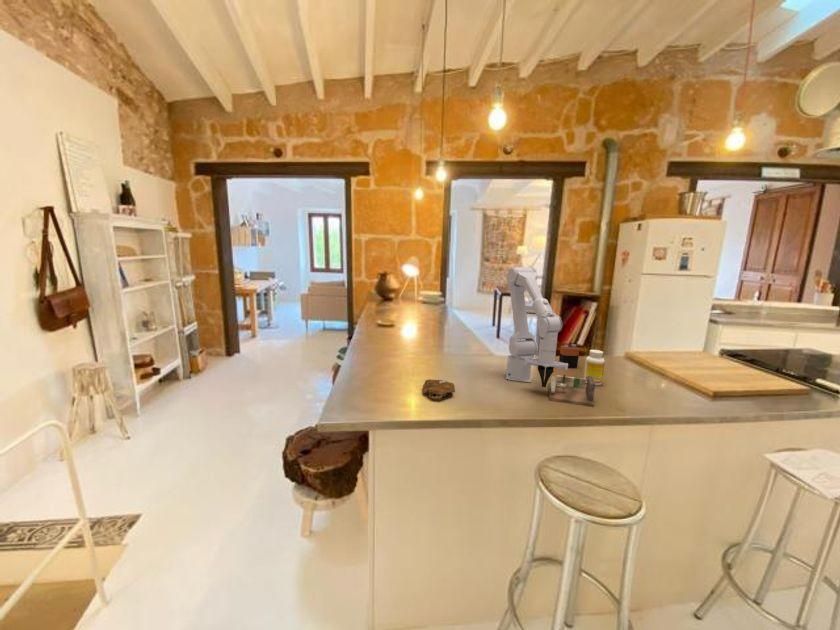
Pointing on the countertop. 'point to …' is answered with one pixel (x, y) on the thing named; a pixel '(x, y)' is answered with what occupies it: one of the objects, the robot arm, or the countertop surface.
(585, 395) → the base
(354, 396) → the countertop surface
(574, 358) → the battery
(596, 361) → the supplement bottle
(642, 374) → the countertop surface
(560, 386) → the silver cylinder with block
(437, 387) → the decorative rock
